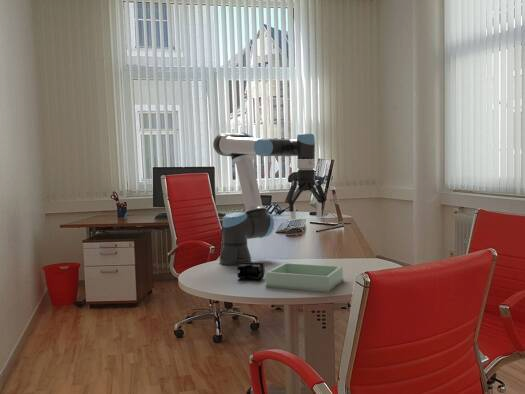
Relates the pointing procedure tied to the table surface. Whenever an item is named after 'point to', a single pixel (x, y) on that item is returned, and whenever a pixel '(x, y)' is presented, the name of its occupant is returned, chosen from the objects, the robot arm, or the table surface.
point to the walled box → (304, 277)
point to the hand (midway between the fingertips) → (306, 218)
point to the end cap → (250, 271)
